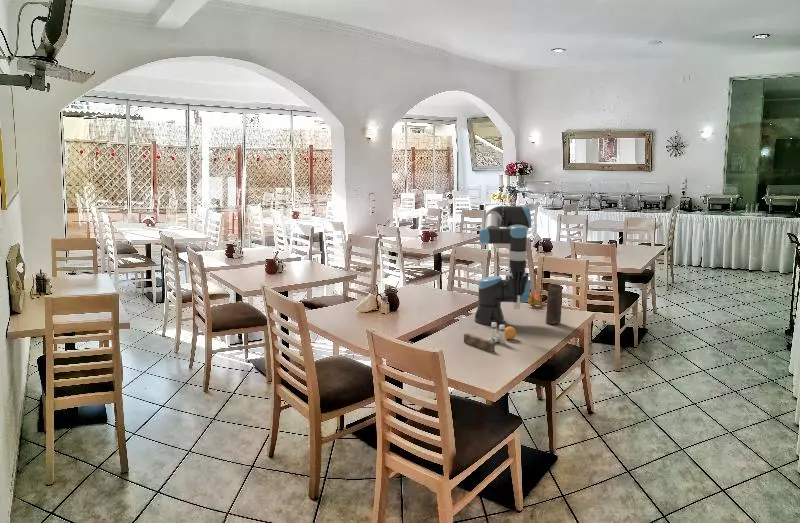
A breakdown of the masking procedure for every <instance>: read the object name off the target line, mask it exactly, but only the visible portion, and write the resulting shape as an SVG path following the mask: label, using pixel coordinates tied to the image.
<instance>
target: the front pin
mask: <svg viewBox="0 0 800 523" xmlns="http://www.w3.org/2000/svg"><path fill="white" fill-rule="evenodd" d="M486 340H488V341H491V342H494V343H495V344H496V343H499V336H496V337H494V338H491V337H490V338H487V339H486Z"/></svg>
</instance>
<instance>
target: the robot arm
mask: <svg viewBox="0 0 800 523" xmlns="http://www.w3.org/2000/svg"><path fill="white" fill-rule="evenodd" d="M483 223H484V227H481V228H480V229H479V234H478V235H479V243H480V244H486V245H490V244H492V245H494V244H496V245H497V244H499V245H504V244H505V245H506V244H507V245H508V273H507V275H505V279H502V276H500V275H499V276H498V275H490V276H486V277H481V278H480V279H479V280H478V287H477V289H478V299H477V300H478V302H477V303H478V304H477V309H476V312H475V314H474V321H475V322H476V323H478V324H482V325H491V326H492V322H496V323H497V325H501V324H502V323H504V321H505V317H504V313H503V310H502V303H513V309H516V310H521V303H528V302H527V301H528V299H529V293H530V294H531V284H532V280H530V279H529V273H528V272H526V268H527V244H528V243H527V241H528V239H527V238H528V231H529V229H530V228H532V215H531V210H530V208H529V207H528V206H524V205H515V206H514V205H505V206H504V205H499V206H495V207H493V208H491V209H489V210H488V211H486V212H485V214H484V217H483Z"/></svg>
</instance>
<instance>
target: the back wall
mask: <svg viewBox="0 0 800 523" xmlns="http://www.w3.org/2000/svg"><path fill="white" fill-rule="evenodd" d="M464 342H465V344H467V343H468V344H467V345H470V344H471V345H470V346H473V345H474V346H473V347H475V346H477V347H476V348H478V347H479V349H481V348H483V349H482V350H484V349H485V350H484V351H486V350H488V351H487V352H489V351H491V352H490V353H493V352H492V351H494V352H495V349H496V348H495V345H496V343H494V342H491V341H488V340H487V339H485V338H483V337H479V336H476V335H473V334H470V333H464V334H463V343H464Z"/></svg>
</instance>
